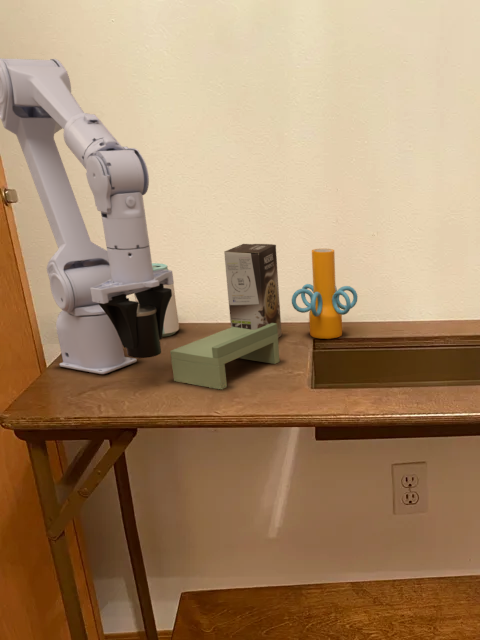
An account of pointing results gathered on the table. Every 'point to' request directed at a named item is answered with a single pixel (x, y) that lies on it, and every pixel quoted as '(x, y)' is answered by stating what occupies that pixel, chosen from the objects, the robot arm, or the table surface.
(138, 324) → the canister
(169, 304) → the can
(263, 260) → the coffee box
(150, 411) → the table surface
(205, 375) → the shelf
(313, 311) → the orange and blue post
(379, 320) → the table surface
